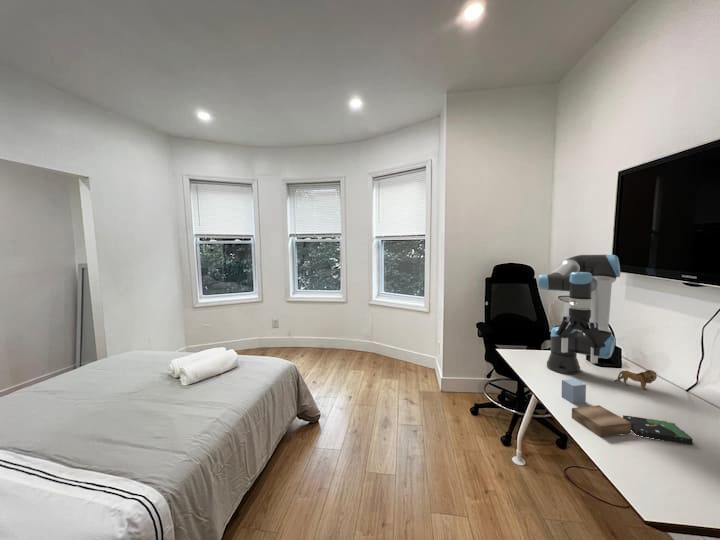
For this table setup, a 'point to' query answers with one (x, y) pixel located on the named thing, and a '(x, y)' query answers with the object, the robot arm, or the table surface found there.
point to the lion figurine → (638, 377)
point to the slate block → (574, 391)
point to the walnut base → (601, 421)
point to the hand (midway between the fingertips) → (578, 357)
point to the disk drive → (658, 430)
